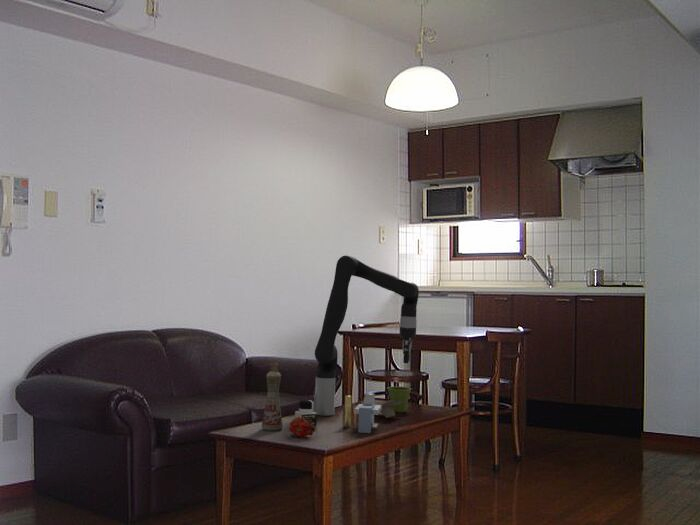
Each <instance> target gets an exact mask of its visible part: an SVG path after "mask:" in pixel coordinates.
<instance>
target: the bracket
mask: <svg viewBox="0 0 700 525" xmlns="http://www.w3.org/2000/svg"><path fill="white" fill-rule="evenodd" d="M361 404H362V405H361V406H360V407H359V414H358V433H363V434H371V433H372V428H371V411H372V409H373V408H374V404H364V403H361Z"/></svg>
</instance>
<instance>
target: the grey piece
mask: <svg viewBox="0 0 700 525" xmlns="http://www.w3.org/2000/svg"><path fill="white" fill-rule="evenodd" d="M375 394H376V393H372V392H371V393H369V392H367V393H364V399H363V400H364V402H363V403H358V404H357V405H356V406H355V407H354V411H353V412H354V414H355V415H359V407H360V406H361V405H362V404H374V408H373V409H372V411H371V429H377V427H378V426H379V423H375V415H376V416H379V414H380V413H381V412H380V411H381V410H382V405H381V404H375V400H376V395H375Z"/></svg>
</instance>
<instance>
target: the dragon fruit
mask: <svg viewBox="0 0 700 525" xmlns="http://www.w3.org/2000/svg"><path fill="white" fill-rule="evenodd" d="M287 430H288V431H289V432H290V433H292V435H293V437H300V438H302V439H307V438H309V437H308V436H312V435H313V434H314V432H315V431H316V430H315V428H314V426H313V425H312V423H311V422H310V421H308V420H306V419H305V418H303V417H302V418H299V417H297V418H295V417H294V418H293V419H292V420H291V421H290V422H289V426H288V428H287Z"/></svg>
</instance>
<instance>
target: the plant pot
mask: <svg viewBox="0 0 700 525" xmlns="http://www.w3.org/2000/svg"><path fill="white" fill-rule="evenodd" d="M386 389H387V390H388V395H389V401H395V402H399V401H402V402H401V403H400V404H397V405H395V406H393V409H394V412H395V413H405V412H407V410H408V409H407V407H408V402H409V397H410V394H411V391H412V388H410V387H407V386H389V387H386Z"/></svg>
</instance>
